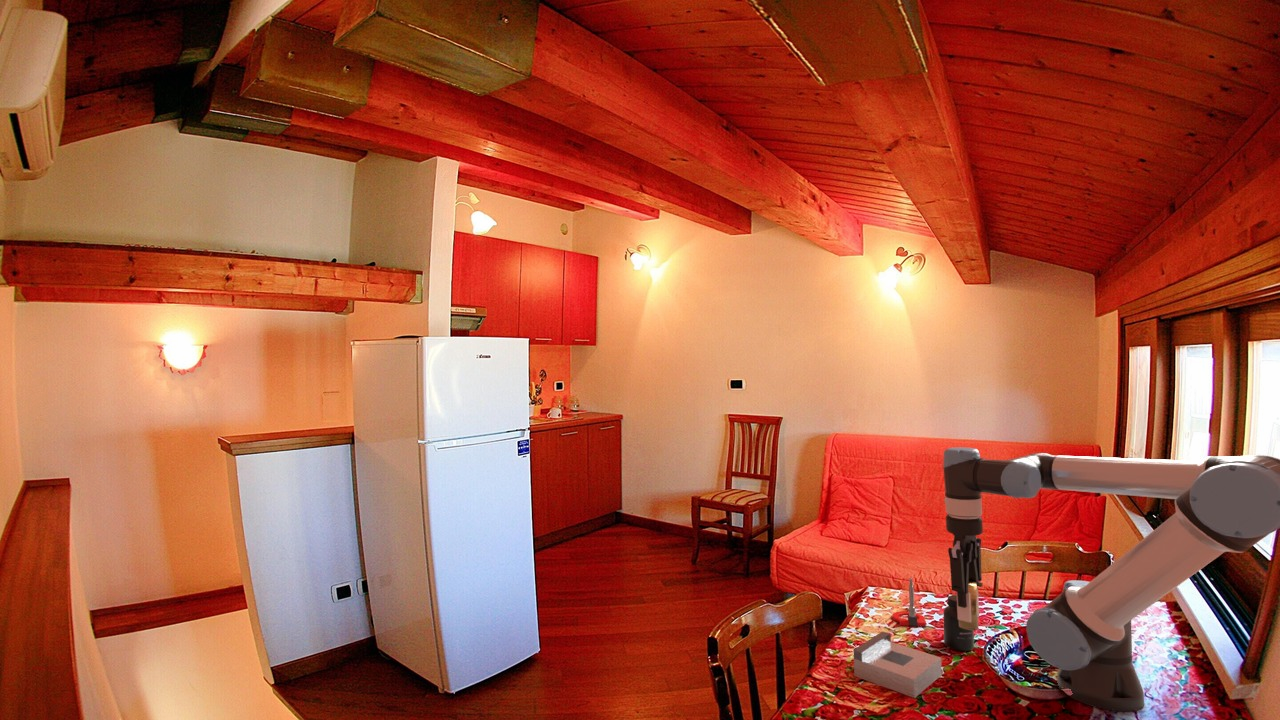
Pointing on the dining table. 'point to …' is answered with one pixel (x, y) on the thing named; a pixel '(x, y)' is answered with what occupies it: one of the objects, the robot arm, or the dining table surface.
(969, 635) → the supplement bottle
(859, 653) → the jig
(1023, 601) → the dining table surface
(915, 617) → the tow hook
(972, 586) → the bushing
